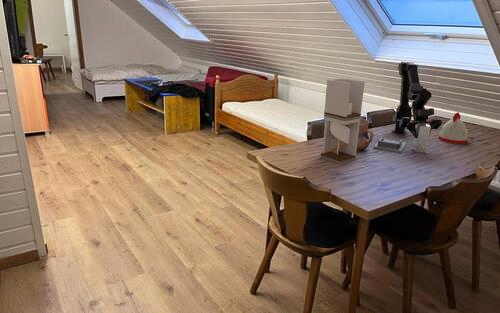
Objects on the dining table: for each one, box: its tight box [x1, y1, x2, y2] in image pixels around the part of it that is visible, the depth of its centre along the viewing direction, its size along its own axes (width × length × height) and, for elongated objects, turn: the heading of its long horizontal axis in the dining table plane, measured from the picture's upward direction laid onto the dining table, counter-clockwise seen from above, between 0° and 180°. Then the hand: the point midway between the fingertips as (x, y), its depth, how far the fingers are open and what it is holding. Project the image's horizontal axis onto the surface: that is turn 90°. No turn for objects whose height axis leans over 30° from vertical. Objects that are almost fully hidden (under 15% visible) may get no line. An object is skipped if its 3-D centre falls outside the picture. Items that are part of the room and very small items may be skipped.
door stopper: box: [360, 115, 370, 141], centre depth 209 cm, size 9×6×12 cm, turn 40°
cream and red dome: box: [437, 111, 469, 144], centre depth 212 cm, size 14×14×15 cm
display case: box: [319, 77, 366, 165], centre depth 173 cm, size 11×11×35 cm
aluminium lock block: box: [412, 123, 431, 153], centre depth 191 cm, size 5×5×14 cm
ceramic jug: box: [356, 118, 374, 152], centre depth 191 cm, size 18×14×14 cm
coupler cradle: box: [373, 136, 407, 153], centre depth 199 cm, size 16×13×4 cm
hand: (422, 138), depth 190 cm, fingers closed on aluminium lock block, 5 cm apart
